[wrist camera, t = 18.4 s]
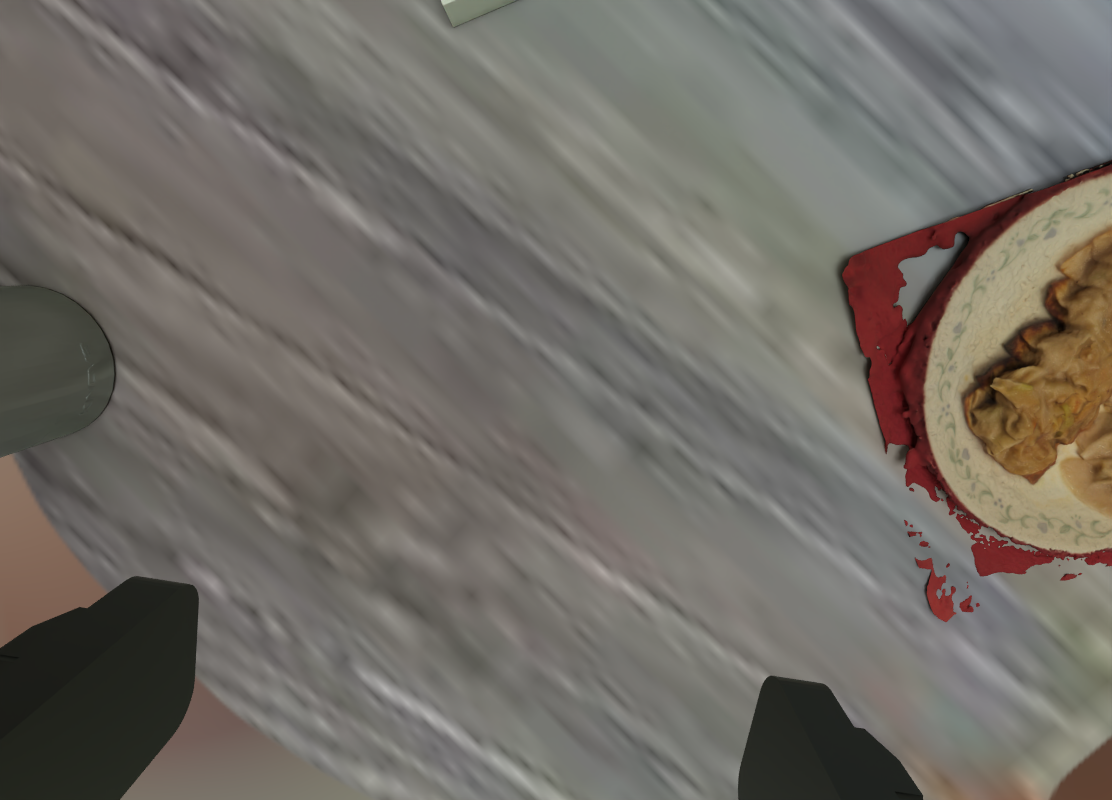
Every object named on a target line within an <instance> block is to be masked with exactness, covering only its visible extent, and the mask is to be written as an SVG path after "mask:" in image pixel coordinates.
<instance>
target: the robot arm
mask: <svg viewBox="0 0 1112 800" xmlns="http://www.w3.org/2000/svg"><path fill="white" fill-rule="evenodd" d="M113 383H114V364H113V357H112V354H111V351H110V347H109V344H108V342H107V340H106V338H105V336H104V334H103V332H102V330H101V329H100V327H99V326H98V325H97V323H96V322H95V321H94V320H93V318H92V317H91V316H90V315H89V314H88V313H87V312H86V311H85V310H84V309H83V308H81V307H80V306H79V305H78V304H77V303H76V302H74V301H72V300H70V299H69V298H67V297H65V296H64V295H62V294H60V293H57V292H55V291H52V290H49V289H46V288H42V287H35V286H29V285H28V286H0V457H3V456H6V455H9V454H12V453H15V452H18V451H21V450H25V449H27V448H30V447H33V446H36V445H39V444H42V443H45V442H48V441H51V440H54V439H57V438H59V437H62V436H65V435H68V434H71V433H74V432H76V431H78V430H80V429H82V428H84V427H86V426H88V425H89V424H90V423H91V422H93V421H94V420H95V419H96V418H97V417H98V416H99V415H100V414H101V412H102V411H103V409H104V408H105V407H106V405H107V403H108V401H109V398H110V395H111V393H112V390H113ZM198 606H199V598H198V592H197V589H196V588H195V587H194V586H193V585H190V584H185V583H178V582H172V581H165V580H159V579H152V578H146V577H139V576H135V577H132V578H129V579H128V580H126V581H124V582H123V583H122V584H120V585H119V586H117V587H116V588H115V589H113V590H112V591H111V592H109V593H108V594H106V595H105V596H104V597H103V598H101V599H100V600H98V601H97V602H95V603H94V604H93V605H91V606H90V607H88V608H81V607H79V608H77V609H74V610H72V611H69V612H67V613H64V614H62V615H59V616H57V617H54V618H52V619H49V620H47V621H45V622H42V623H40V624H37V625H35V626H32V627H31V628H29V629H28V630H26V631H25V632H23V633H22V634H20V635H19V636H17V637H16V638H14V639H13V640H12V641H10V642H9V643H7V644H6V645H4V646H3V647H1V648H0V800H120V799H121V798H122V796H123V795H124V794H125V793H126V792H127V790H128V789H129V788H130V787H131V785H132V784H133V783H134V782H135V781H136V779H137V778H138V777H139V776H140V775H141V773H142V772H143V771H144V770H145V768H146V767H147V766H148V765H149V764H150V763H151V761H152V760H153V759H154V757H155V756H156V755H157V754H158V753H159V752H160V750H161V749H162V748H163V747H164V746H165V744H166V743H167V742H168V741H169V740H170V738H171V737H172V736H173V734H174V733H175V732H176V730H177V729H178V727H179V725H180V724H181V722H182V720H183V718H184V716H185V714H186V711H187V709H188V706H189V704H190V701H191V697H192V693H193V689H194V681H195V664H196V644H197V625H198ZM738 799H739V800H923V795H922V793H921V792H920V790H919V789H918V787H917V786H916V784H915V783H914V781H913V780H912V778H911V777H910V776H909V774H908V773H907V771H906V770H905V768H904V767H903V765H902V764H901V762H900V761H899V760H898V759H897V758H896V757H895V756H894V755H893V754H892V753H891V752H889V751H888V750H887V749H886V748H885V747H884V746H883V745H882V744H881V743H879V742H878V741H877V740H876V739H875V738H874V737H873V736H872V735H871V734H870V733H868V732H867V731H866V730H865V729H862V728H855V727H854V726H853V725H852V723H851V721H850V720H849V718H848V717H847V715H846V713H845V712H844V710H843V709H842V707H841V706H840V704H839V702H838V701H837V699H836V698H835V696H834V694H833V693H832V691H831V690H830V689H829V687H827V686H826V685H825V684H822V683H816V682H809V681H803V680H796V679H790V678H783V677H777V676H769V677H767V678H766V680H765V681H764V683H763V685H762V687H761V691H760V694H759V698H758V702H757V705H756V709H755V713H754V717H753V721H752V724H751V728H750V732H749V736H748V740H747V743H746V747H745V751H744V755H743V758H742V762H741V766H740V771H739V780H738Z"/></svg>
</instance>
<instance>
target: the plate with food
mask: <svg viewBox="0 0 1112 800" xmlns="http://www.w3.org/2000/svg"><path fill="white" fill-rule="evenodd" d="M1110 164H1111V165H1110ZM1098 169H1099V170H1098ZM1094 170H1096V171H1094ZM1091 171H1093V172H1091ZM1076 176H1077V177H1076V178H1074V175H1073V174H1071V175H1068V176H1067V177H1069V178H1070V179H1066V180H1065V182H1063V183H1060V184H1057V185H1054V186H1052V187H1049V188H1046V189H1043V190H1040V191H1037V192H1034V193H1030V192H1032V191H1033V189H1029V190H1027V191H1025V192H1022V193H1019V194H1017V195H1014V196H1011V197H1008V198H1006V199H1003V200H1000V201H998V202H995V203H992V204H990V205H987V206H985V207H984V208H982V209H981V210H979V211H976V212H973V213H970V214H967V215H964V216H962V217H955V218H953V219H951V220H949V221H947V222H945V223H942V224H938V225H936V226H933V227H929V228H926V229H922V230H920V231H917V232H914V233H912V234H909V235H906V236H904V237H901V238H898V239H896V240H893V241H890V242H887V243H885V244H882V245H879V246H876V247H874V248H871V249H869V250H866V251H864V252H862V253H860V254H857V255H854V256H852V257H851V258H850V260H849V264H848V266H847V267H846V268H845V269H844V272H843V274H842V277H843V280H844V282H845V284H846V285H847V286H848V289H849V290H848V293H849V305H851V306H852V308H853V310H854V313H855V322H856V332H857V335H858V338H859V341H860V347H861V349H862V351H863V353H864V355H865V357H870V359H871V361H872V366H871V369H870V377H869V378H868V381H869V384H870V387H871V392H872V397H873V400H874V405H875V409H876V411H877V415H878V418H879V424H880V426H881V430H882V432H883V435H884V438H885V440H886V443H885V451H886V453H887V448H888V444H889V443H893V444H896V445H908V446H909V451H908V452H907V454H906V460H905V465H904V468H905V469H907V472H906V476H905V478H906V486H907V487H909V486H910V485H911V484H912V483H916V484H918V485H920V486H922V487H924V488H925V489H926V490H927V491H928V492H929V496H930V498H931V499H932V500H933V501H935V502H937V501H939V500H940V498H939V497H937V496H936V491H935V486H936V487H937V488H938V490H940V489H942V490H943V491H945V492H946V494H947V495H948V497H947V498H946V500H947V504H948V507H949V508H950V512H949V515H952V514H954V513H955V512H954V511H953V510H954V509H955V505H957V510H962V511H963V512H965V513H966V516H964V515H963V514H961V515H959V514H957V516H956V519H957V520H958V521H959V522H960V525H961V527H962V528H963V529H964V530H966V531H967V533H968V534H969V533H970V532H972V533H973V535H971V539H972V540H975V541H976V542H977V543H975V544H974V545H972V546H971V550H972V552H973V555H974V558H975V565H976V568H977V572H978V573H979V575H980V576H988V575H990V574H993V573H997V572H1006V573H1015V574H1025V573H1026V570H1027V569H1028V568H1030V567H1031V566H1034V565H1036V564H1038V565H1042V564H1045V563H1051V562H1052V560H1054V557H1056V558H1061V559H1062V560H1064V558H1065V557H1067V556H1069V557H1074V560H1076V559H1078V558H1084V557H1088V558H1086V559H1085V562H1086V563H1087V564H1088V565H1095V564H1096V563H1099V562H1101V563H1103V564H1107V565H1106V566H1112V160H1111V161H1109V162H1106V163H1103V164H1101V165H1099V166H1096V167H1094V168H1091V169H1090V170H1089V169H1084V170H1081V171H1080V172H1077V173H1076ZM1063 178H1064V177H1063ZM1028 193H1030V194H1028ZM960 231H961V232H964V233H965V234H966V235H967V236H969V237H970V238H969V242H968V244H967V246H966V247H965V248H964V250H963V251H962V252H961V254H960V255H959V257H958V258H957V260H956V261H955V263H954V265H953V266H952V268H951V269H950V270H949V272H948V273H947V274H946V276H945V277H944V278H943V280H942V281H941V283H940V284H939V285H938V286H937V288H936V289H935V291H934V292H933V294H932V295H931V297H930V298H929V300H928V301H927V302H926V304H925V305H924V307H923V308H922V310H921V311H920V313H919V314H918V316H917V317H916V319H915V320H914V322H913V323H911V324H910V325H908V327H907V321H906V319H904V320H903V317H902V311H903V309H902V307H901V306H900V305H898V306H896V307H895V308H893V304H894V303H896V302H897V301H898V298H899V291H900V288H901V287H904V286H906V284H907V283H906V281H905V280H904V279H903V273H901V271H900V270H899V269H898V264H899V263H900V262H901V261H902V260H904V259H907V258H912V257H919V256H922V255H924V254H925V253H926V252H927V250H928V249H929V248H931V247H933V246H936V245H937V246H939V247H940V248H942V249H949V248H951V247H953V246H954V240H955V235H956V234H957V232H960ZM877 346H879V347H880V349H879V350H878V349H877ZM885 355H886V356H885ZM886 358H887V359H886ZM890 363H891V364H890ZM888 364H890V365H888ZM909 490H910V491H913V492H914V489H913V488H910V489H909ZM941 501H943V499H941ZM962 516H964V517H963V518H960V517H962ZM966 518H968V520H967V519H966ZM969 519H974V520H975V521H976V522H977V523H979V526H978V524H976V523H973V522H971V521H970V520H969ZM904 521H905V520H904ZM905 524H906V526H907V525H908V523H907V521H905ZM981 526H984V527H986V528H988V526H990V527H991V528H993V529H994V530H995V531H996V532H997V534H998V535H1000V537H1008V538H1009V539H1010V540H1011V541H1012V542H1013V543H1015V544H1020V545H1025V546H1026V545H1030V546H1031V547H1033V548H1036V549H1037V550H1038V551H1037V552H1035V551H1032V552H1030V550H1028V551H1024V550H1022V549H1021V548H1019V549H1016V548H1015V547H1014V546H1004V547H1002V546H1003V545H1004V544H1007V543H1008V541H1004V540H1001V541H998V540H997V539H996V538H994V537H993V536H990V538H989V540H990V541H989V542H988V541H987V539H986V536H985V535H980V537H983V538H975V537H974V536H975V534H977V533H979V531H978V529H981ZM910 527H913V525H910ZM908 533H909V535H910V536H909V537H911V536H915V535H916V533H919V534H920V537H921V536H922V535H921V534H922V532H908ZM980 541H983V543H984V544H982V543H980ZM992 541H995V542H993V543H992ZM928 544H929V543H928V542H925V541H922V542H920V544H919V545H920V546H923V547H927V546H928ZM988 544H990V546H989V545H988ZM999 546H1000V548H998V547H999ZM928 548H930V546H929V547H928ZM984 548H986V549H984ZM1103 551H1106V552H1104V553H1103ZM1034 552H1035V555H1034ZM1040 552H1041V554H1040ZM1047 554H1048V556H1047ZM915 560H916V562H917V564H918V566H919V568H925V569H931V570H932V572H931V576H930V579H929V585H928V586H927V596H928V600H929V604H930V606H931V609H932V611H933V613H934V615H936V616H937V617H938V618H939V619H941V620H943V621H945V622H947V621H948V620H949V619H950V618H951V617H952V616H953V615H954V614H956V613H955V612H953V601H952V594H954V593H955V591H956V588H955V587H953V586H952V587H951V594H950V595H949V596H945V589H943V590H942V593H943V594H942V596H941V598H940V599H938V597H937V595H936V592H937V589H940V590H941V586H942V584H943V583H946V576H945V575H944V576H943V577H939V578H938V577H936V575H935V573H934V569H933V564H932V559H931V558H929V559H927V560H923V561H921V560H917V559H916V558H915ZM1067 560H1068V561H1069V560H1070V559H1068V558H1067ZM1081 560H1082V559H1081ZM949 566H950V564H949V563H948V564H947V566H946V567H947V568H948V567H949ZM1059 566H1060V565H1059ZM1081 574H1082V573H1079V574H1078V575H1081ZM1076 576H1077V575H1074V574H1066V575H1065V576H1063V577H1062V578H1061V580H1069V579H1073V578H1075V577H1076ZM967 583H968V582H967ZM967 589H968V585H967ZM971 598H972V596H969V598H968V599H966V600H965V601H963V602H961V603H960V608H961V610H962V612H973V607H972V606H970V607H969V605H970V603H971ZM978 606H980V605H979V603H977V604H976V607H978Z"/></svg>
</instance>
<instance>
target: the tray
mask: <svg viewBox="0 0 1112 800" xmlns="http://www.w3.org/2000/svg"><path fill="white" fill-rule="evenodd" d="M441 1H442V4H443V7H444V9H445V11H446V13H447V15H448V17H449V20H450V22H451V24H452V26H453V27H455V26H458V25H460V24H463V23H465V22H467V21H470V20H472V19H474V18H477V17H479V16H481V15H484V14H486V13H489V12H491V11H493V10H496V9H498V8H500V7H503V6H505V5H507V4H510V3H512V2H515V1H517V0H441Z"/></svg>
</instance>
